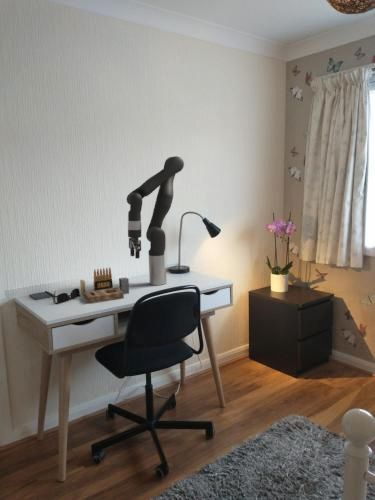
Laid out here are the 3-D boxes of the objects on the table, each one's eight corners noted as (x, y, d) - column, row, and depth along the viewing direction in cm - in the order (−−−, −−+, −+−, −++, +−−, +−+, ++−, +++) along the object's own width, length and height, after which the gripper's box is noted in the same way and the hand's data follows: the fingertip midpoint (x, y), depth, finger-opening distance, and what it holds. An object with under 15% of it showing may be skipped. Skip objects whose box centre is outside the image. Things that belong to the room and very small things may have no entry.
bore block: (117, 293, 220) (116, 287, 219) (123, 298, 209) (123, 292, 209) (83, 297, 212) (83, 292, 212) (88, 303, 201) (88, 297, 201)
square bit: (126, 291, 222) (126, 277, 221) (129, 293, 219) (128, 278, 218) (119, 292, 221) (119, 278, 219) (121, 294, 217) (121, 279, 216)
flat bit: (83, 294, 219) (83, 279, 218) (85, 296, 215) (84, 281, 214) (81, 294, 219) (80, 280, 217) (82, 296, 215) (82, 281, 213)
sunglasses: (62, 293, 222) (61, 284, 222) (82, 296, 216) (81, 287, 215) (38, 301, 208) (37, 292, 207) (58, 305, 201) (58, 295, 200)
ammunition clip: (94, 290, 226) (93, 269, 224) (93, 290, 228) (92, 269, 226) (112, 287, 232) (111, 267, 230) (111, 287, 233) (110, 266, 231)
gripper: (145, 229, 223) (145, 258, 226) (136, 227, 236) (136, 255, 238) (132, 230, 220) (132, 259, 222) (124, 227, 232) (124, 255, 235)
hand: (134, 257), depth 230 cm, fingers open, 8 cm apart
